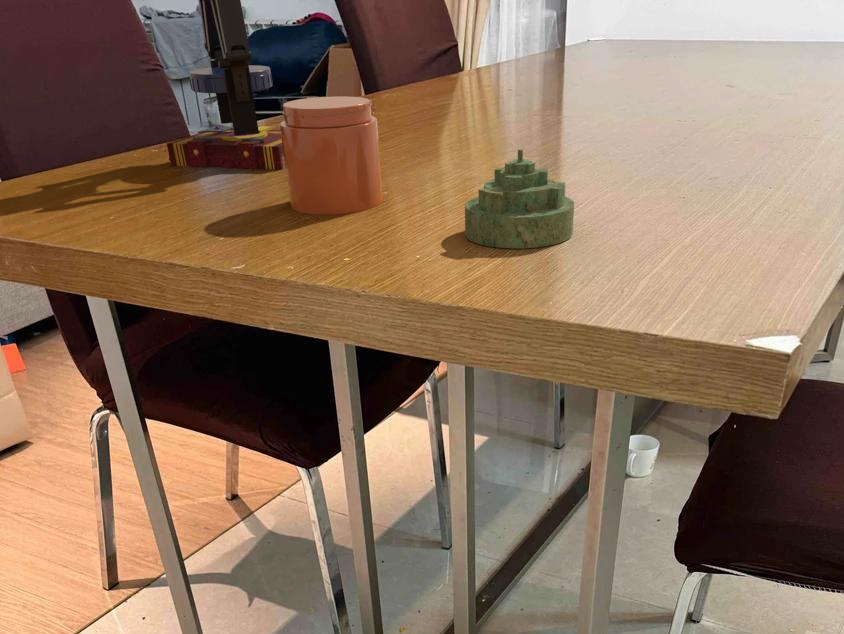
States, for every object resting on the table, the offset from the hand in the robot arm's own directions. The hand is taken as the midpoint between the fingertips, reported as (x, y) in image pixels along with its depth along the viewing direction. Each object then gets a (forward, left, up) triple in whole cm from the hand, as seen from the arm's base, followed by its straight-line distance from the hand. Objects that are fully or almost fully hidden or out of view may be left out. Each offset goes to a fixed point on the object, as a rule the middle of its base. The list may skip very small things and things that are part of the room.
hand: (239, 127), depth 100 cm
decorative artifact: (+25, -36, -5) cm, 44 cm away
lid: (0, 0, +5) cm, 5 cm away
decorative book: (0, 0, -5) cm, 5 cm away
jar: (+9, -27, -5) cm, 29 cm away
